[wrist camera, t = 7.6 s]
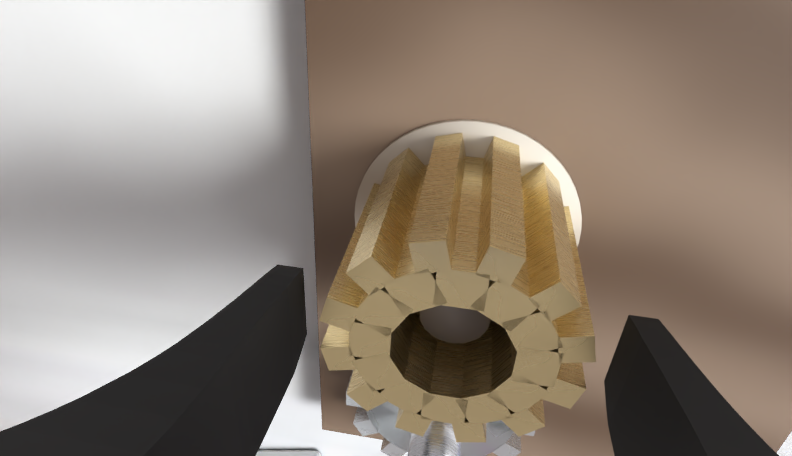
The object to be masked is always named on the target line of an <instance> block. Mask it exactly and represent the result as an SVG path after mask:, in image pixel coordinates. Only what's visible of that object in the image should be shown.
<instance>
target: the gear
mask: <svg viewBox="0 0 792 456" xmlns="http://www.w3.org/2000/svg"><path fill="white" fill-rule="evenodd" d="M352 374H353V370H352V373H351V376H350V380H351V377H352ZM350 380H349V383H348V386H347V390H348V387H349V384H350ZM347 390H346V405H349V406H355V407H357V411H356V414H355V418H354V422H353V424H354V425H355V427H356V428H357V429H358V431H359V432H360V433H361V435H362V436H366V435H371V434H376V433H380V434H381V435H382V436H383V437H384V438H383V443H382V447H381V451H382V452H383V453H385V454H387V455H389V456H402V455H403V454H405V453H406V452H408V456H486V455H487V454H489V453H492V452H493V453H494V454H496V455H498V456H516V455H518V454H519V453H521V436H518V435H517V434H515V433H514V432H513V431H512V430H511V429H510V428H509V427H508V426H507V425H506V424H505V423H504V422H503V421H502V420H498V421H493V422H488V423H487V425H486V442H456V439H455V435H454V431H453V427H452V424H450V423H444V422H438V421H432V422H431V423H430V425H429V427H428V429H427V430H426V432H425V434H424V436H423V437H422V436H419V435H417V434H414V433H411V432H408V431H405V430H402V429H399V428H396V427H395V426H396V420H397V415H398V410H399V408H398V407H397V406H395V405H393V404H391V403H389V402H388V401H387V402H385V403H383V404H381V405H379V406H377V407H375V408H373V409H371V410H369V411H366V410H365V409H364V408H362V407H361V406H360V405H359V404H358V403H356V402H355V401H354V400H353V399H352V398H351V397H349V396H348V395H347ZM534 434H535V431H532V432H530V433H527V434H524V435H529V436H534Z"/></svg>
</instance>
